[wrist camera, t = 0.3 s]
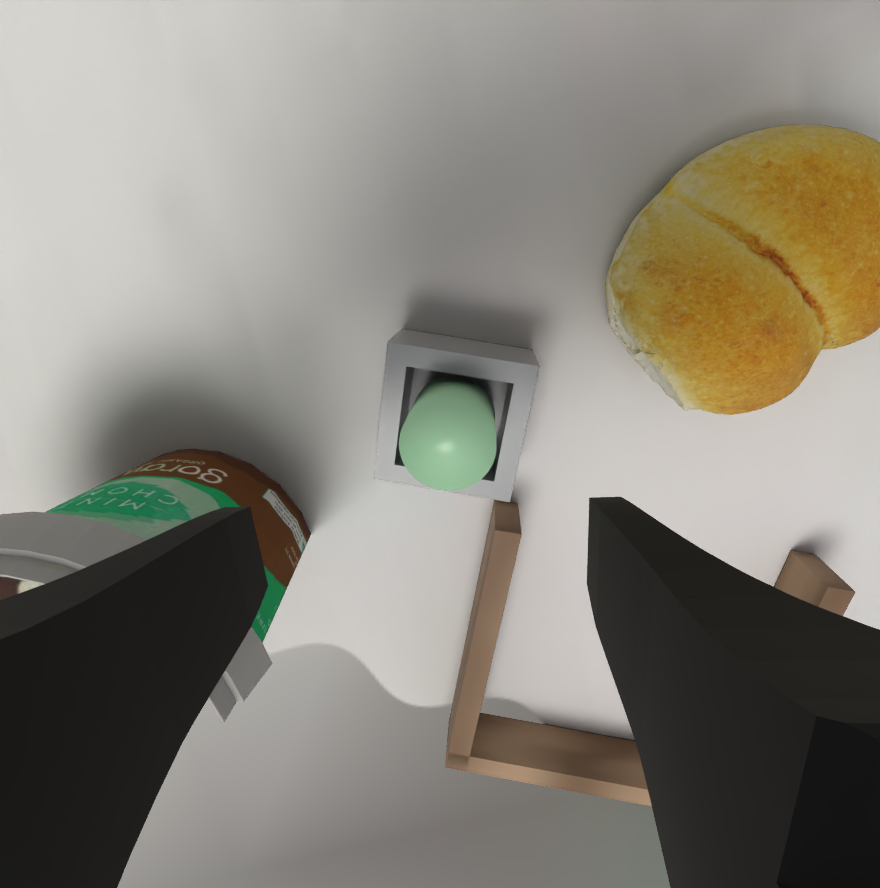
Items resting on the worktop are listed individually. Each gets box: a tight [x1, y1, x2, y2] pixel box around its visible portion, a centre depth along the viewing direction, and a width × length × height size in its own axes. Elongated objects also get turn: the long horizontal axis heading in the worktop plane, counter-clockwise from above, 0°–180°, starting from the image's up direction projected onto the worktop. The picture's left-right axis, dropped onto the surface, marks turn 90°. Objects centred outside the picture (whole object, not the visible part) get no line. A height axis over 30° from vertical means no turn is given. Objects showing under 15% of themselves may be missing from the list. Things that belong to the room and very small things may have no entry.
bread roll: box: [605, 125, 880, 415], centre depth 16 cm, size 8×9×4 cm
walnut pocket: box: [445, 500, 855, 806], centre depth 23 cm, size 14×13×2 cm
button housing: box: [373, 329, 540, 502], centre depth 19 cm, size 5×5×3 cm
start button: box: [399, 376, 496, 491], centre depth 17 cm, size 3×3×3 cm
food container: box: [0, 449, 311, 722], centre depth 18 cm, size 12×6×10 cm, turn 102°
